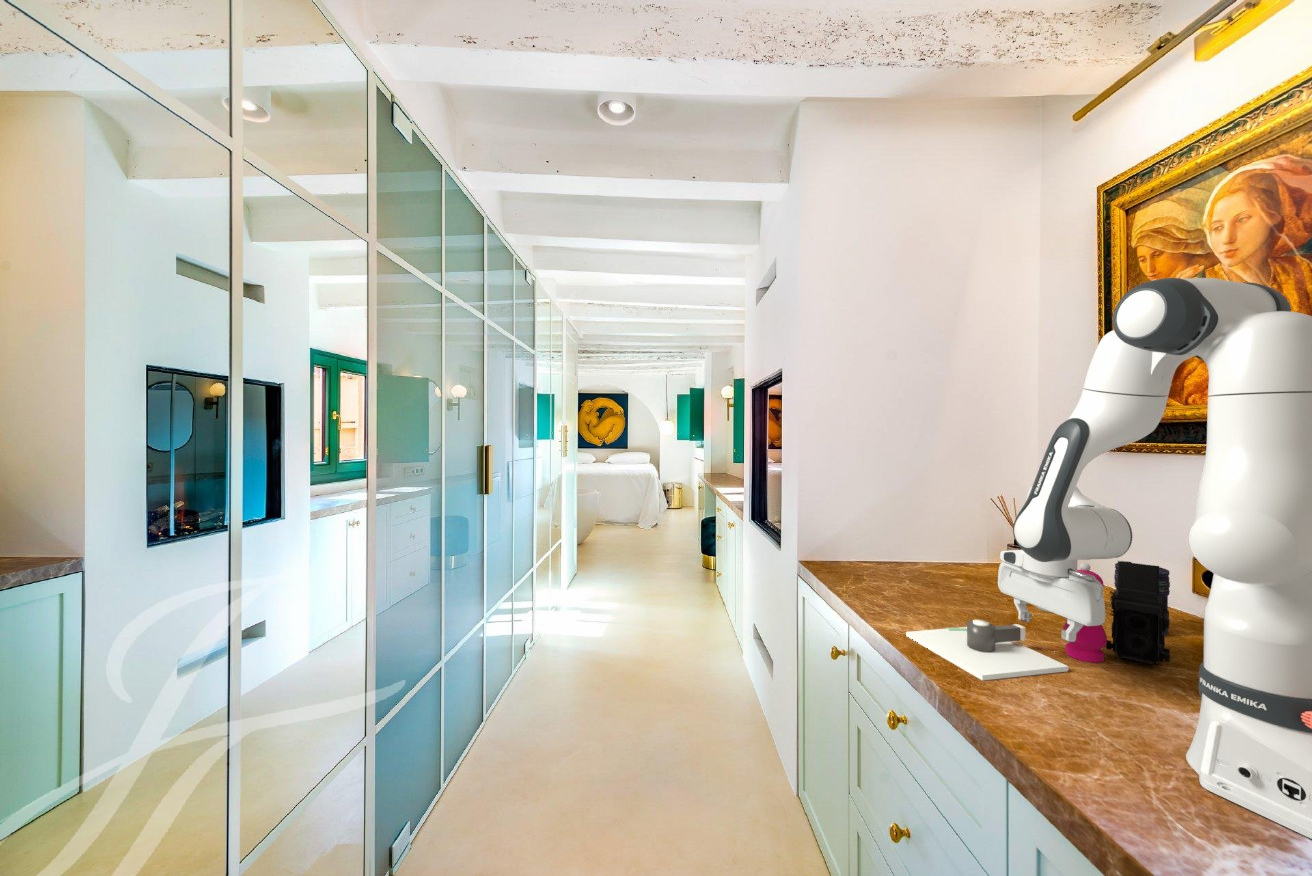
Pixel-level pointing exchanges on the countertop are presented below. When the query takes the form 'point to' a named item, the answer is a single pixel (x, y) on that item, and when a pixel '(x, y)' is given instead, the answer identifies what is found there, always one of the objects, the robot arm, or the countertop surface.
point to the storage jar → (1163, 589)
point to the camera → (1138, 615)
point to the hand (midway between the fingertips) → (1045, 630)
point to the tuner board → (986, 655)
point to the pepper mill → (1088, 634)
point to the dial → (991, 634)
